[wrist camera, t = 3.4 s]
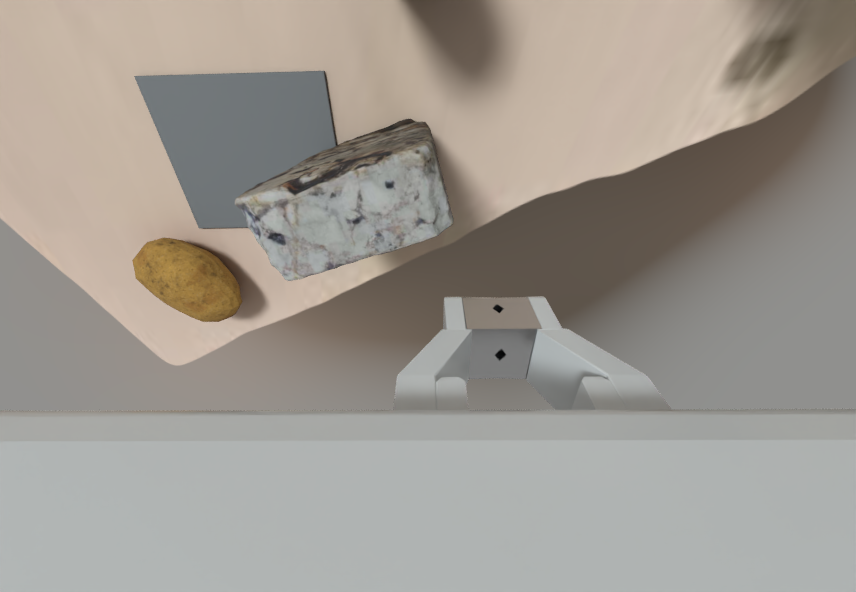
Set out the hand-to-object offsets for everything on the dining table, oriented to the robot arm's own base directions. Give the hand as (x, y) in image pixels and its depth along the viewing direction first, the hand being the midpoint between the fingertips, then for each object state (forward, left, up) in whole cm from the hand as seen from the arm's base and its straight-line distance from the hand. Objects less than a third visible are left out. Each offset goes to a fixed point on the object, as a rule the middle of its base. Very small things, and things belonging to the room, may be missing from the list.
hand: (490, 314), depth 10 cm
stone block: (+8, +1, -32) cm, 32 cm away
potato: (+33, +15, -32) cm, 48 cm away
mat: (+22, +1, -32) cm, 38 cm away
